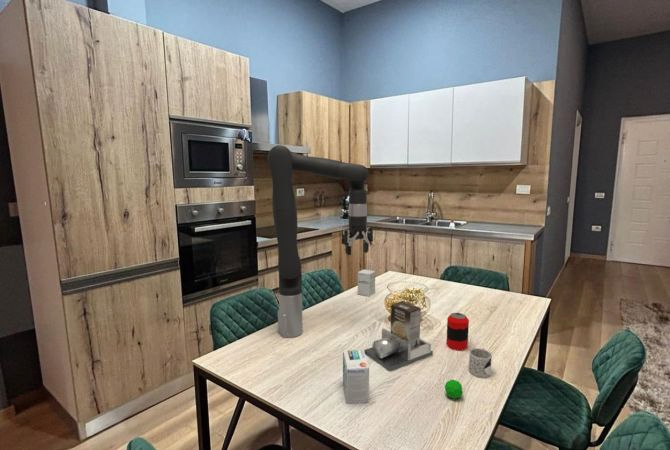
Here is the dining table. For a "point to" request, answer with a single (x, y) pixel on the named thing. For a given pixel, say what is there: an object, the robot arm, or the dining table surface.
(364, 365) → the light bulb box
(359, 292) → the supplement box
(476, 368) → the mug
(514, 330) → the dining table surface
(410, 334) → the coffee box
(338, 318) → the dining table surface
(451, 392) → the green ball
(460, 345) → the soda can
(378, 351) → the motor mount
